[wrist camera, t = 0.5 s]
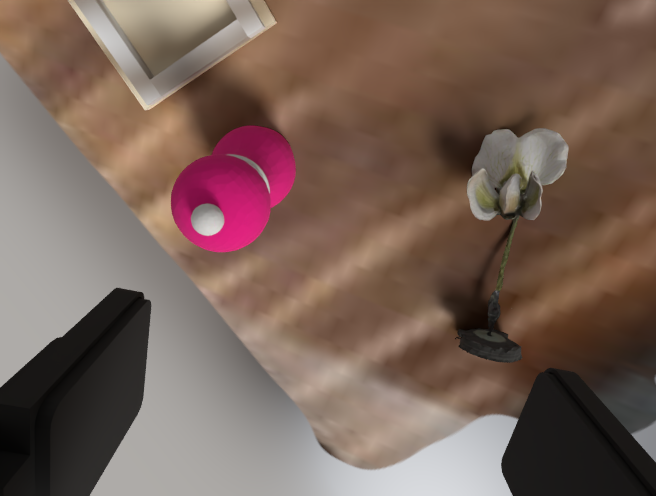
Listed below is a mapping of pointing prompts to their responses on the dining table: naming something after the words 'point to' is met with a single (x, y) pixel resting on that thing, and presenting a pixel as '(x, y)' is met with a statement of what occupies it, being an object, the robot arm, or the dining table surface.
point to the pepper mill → (233, 189)
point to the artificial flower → (509, 210)
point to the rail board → (170, 38)
